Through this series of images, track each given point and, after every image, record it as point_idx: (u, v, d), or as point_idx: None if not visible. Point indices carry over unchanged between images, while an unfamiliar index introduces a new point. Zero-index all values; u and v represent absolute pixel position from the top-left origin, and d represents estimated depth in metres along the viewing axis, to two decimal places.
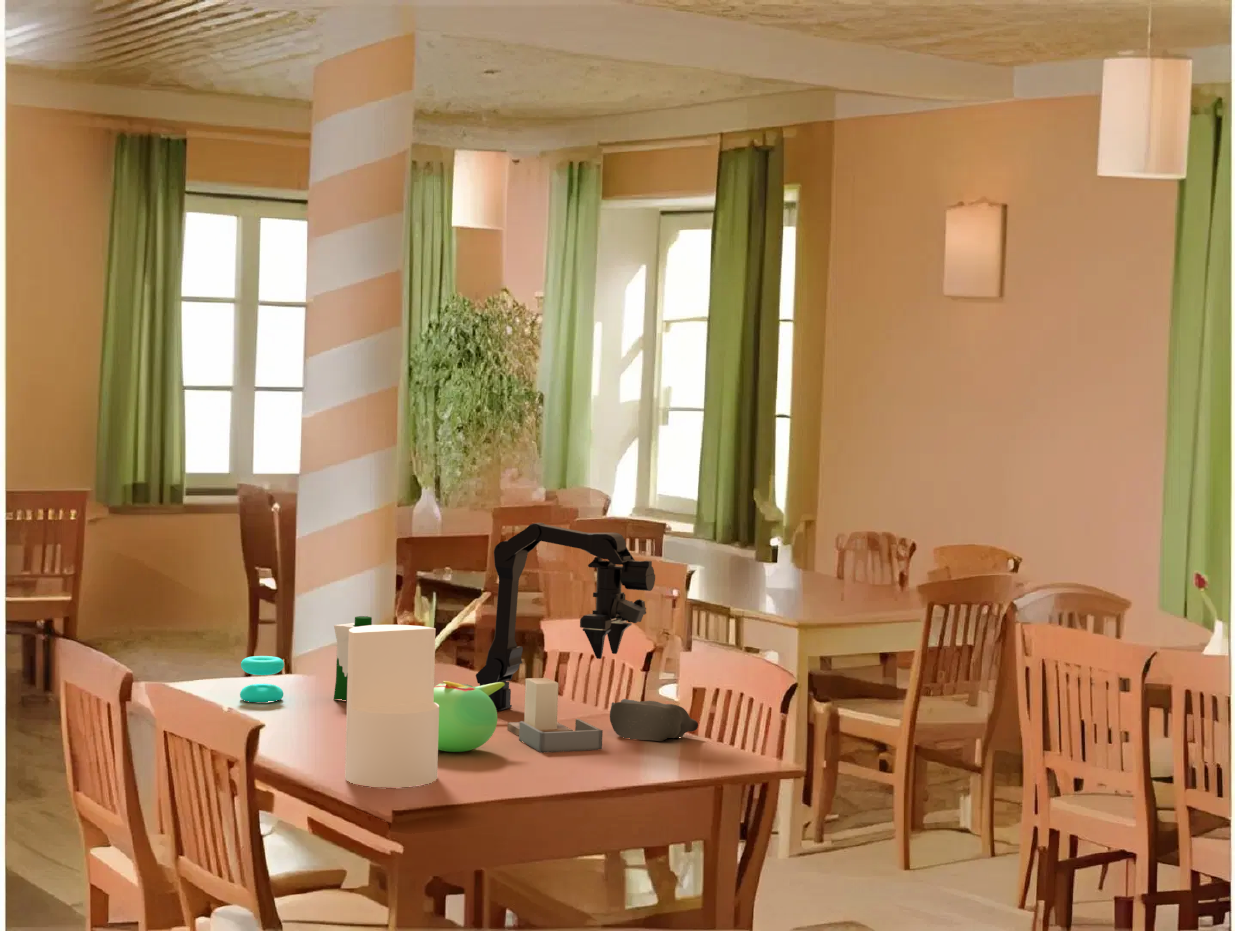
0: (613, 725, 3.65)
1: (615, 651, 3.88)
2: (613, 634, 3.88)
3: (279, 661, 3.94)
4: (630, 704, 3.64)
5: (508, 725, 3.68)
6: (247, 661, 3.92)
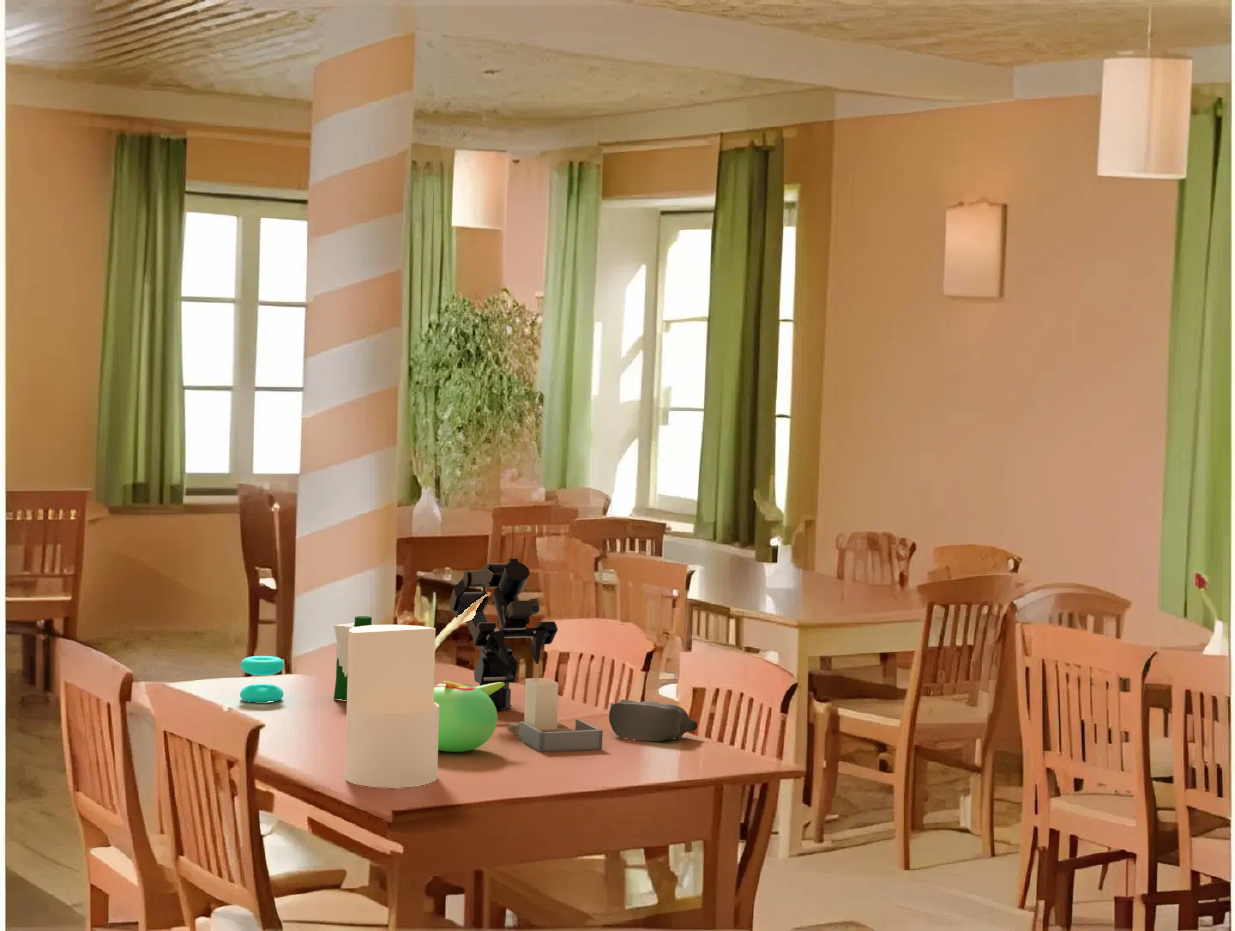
0: (612, 726, 3.65)
1: (536, 660, 3.78)
2: (534, 648, 3.81)
3: (279, 661, 3.94)
4: (629, 704, 3.64)
5: (508, 725, 3.68)
6: (247, 661, 3.92)
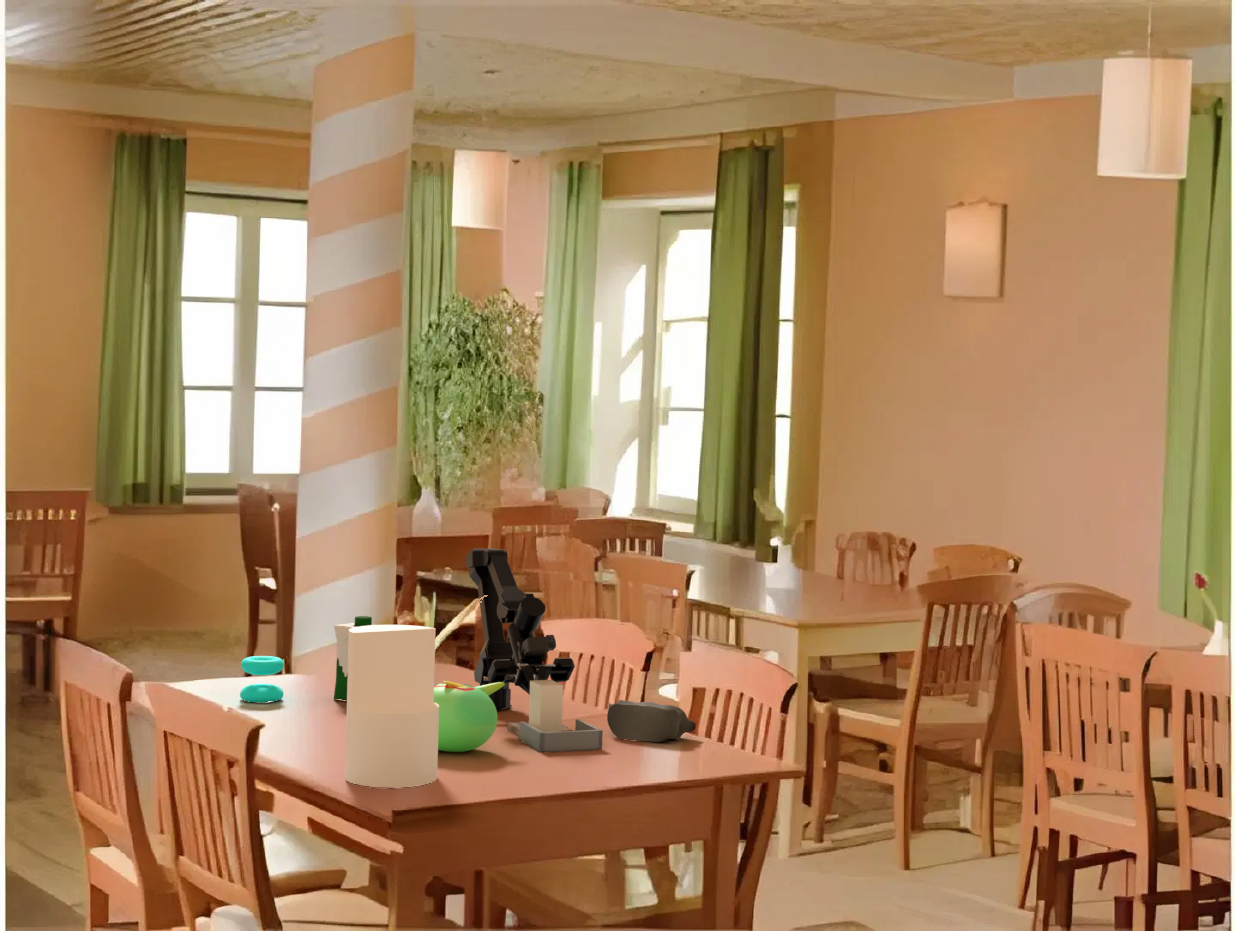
0: (611, 726, 3.64)
1: None
2: None
3: (279, 661, 3.94)
4: (628, 705, 3.63)
5: (508, 725, 3.68)
6: (247, 661, 3.92)
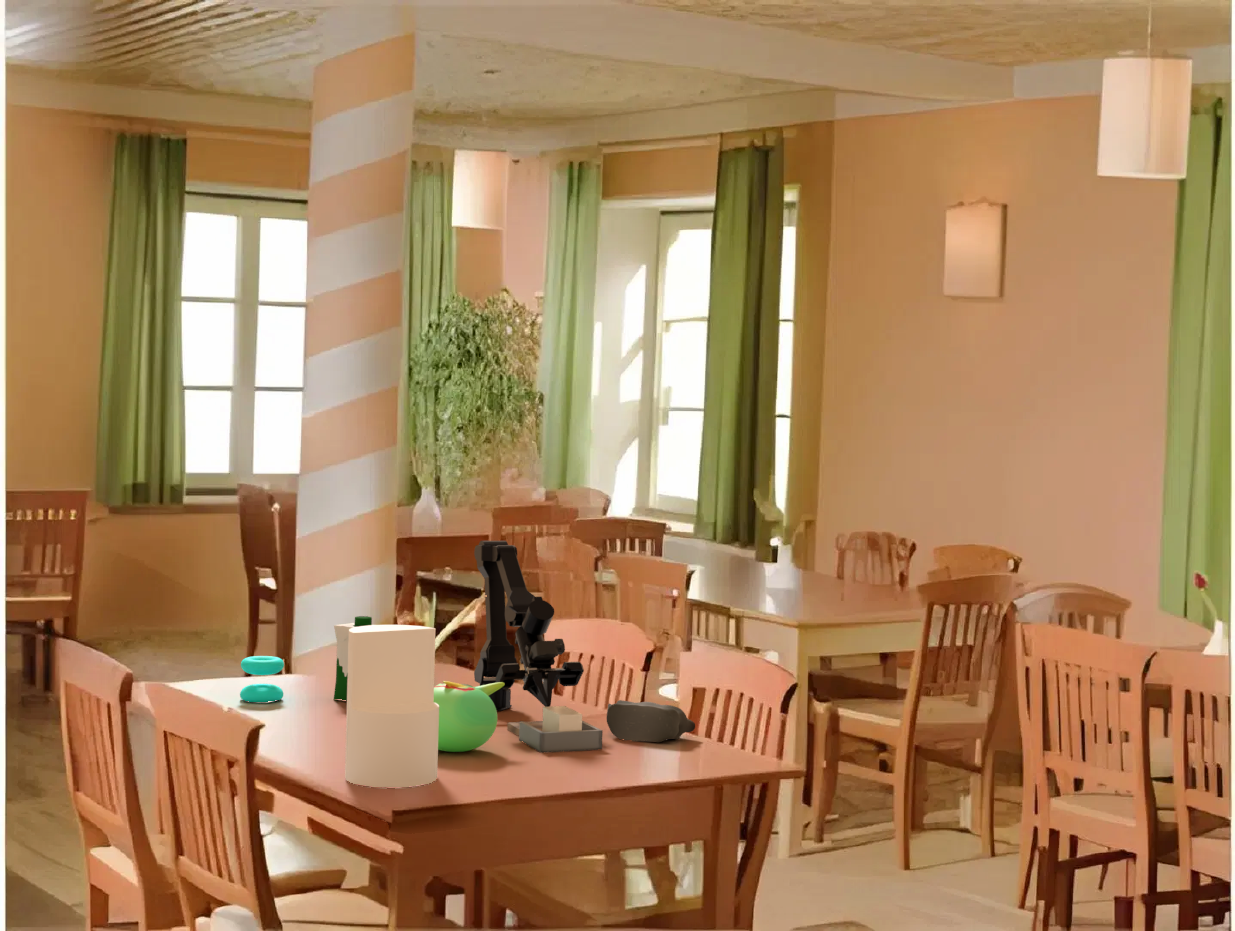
0: (610, 727, 3.63)
1: (548, 703, 3.61)
2: (545, 691, 3.64)
3: (279, 661, 3.94)
4: (627, 705, 3.62)
5: (508, 725, 3.68)
6: (247, 661, 3.92)
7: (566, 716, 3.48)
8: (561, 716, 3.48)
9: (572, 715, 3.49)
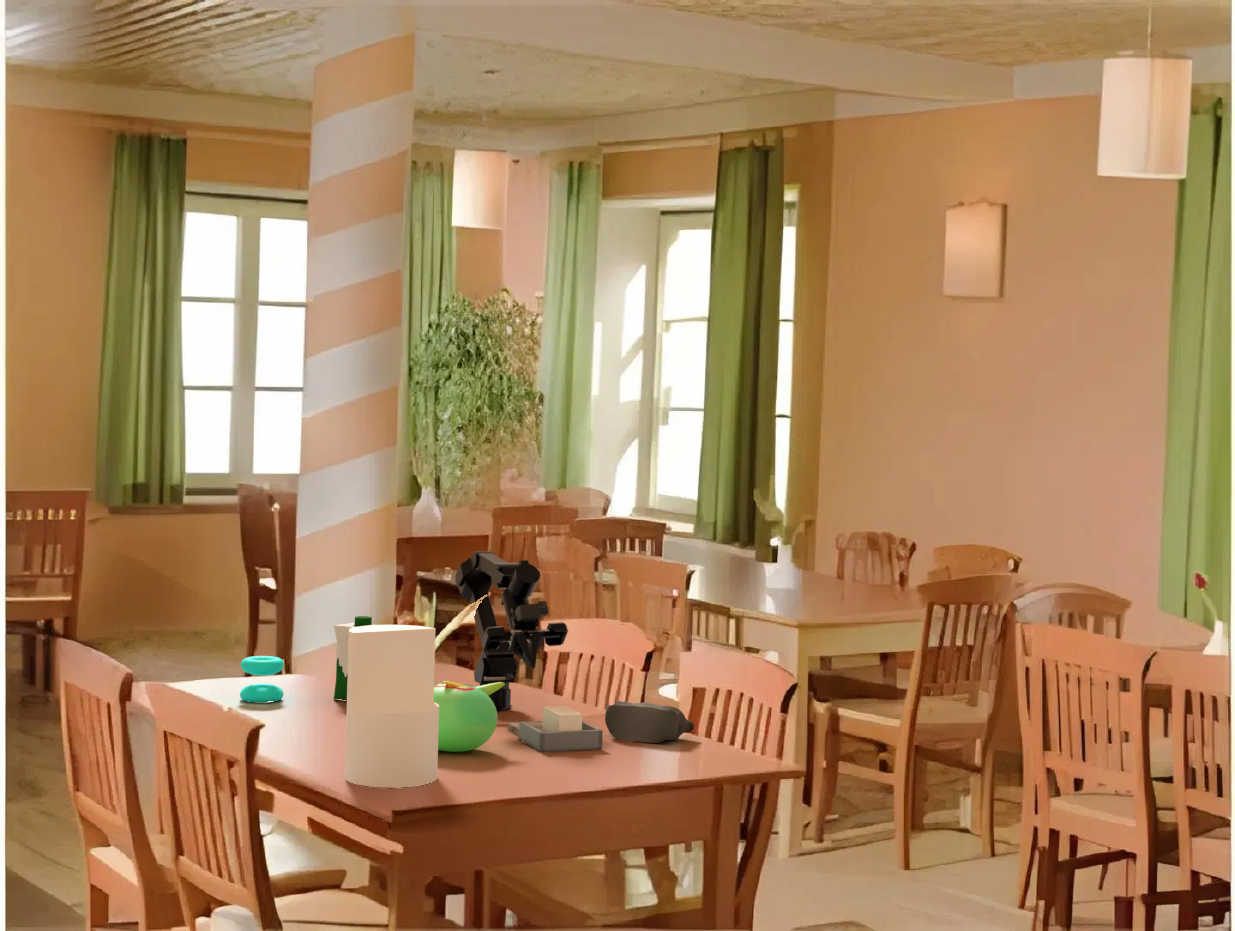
0: (609, 727, 3.62)
1: (532, 664, 3.72)
2: (530, 652, 3.75)
3: (279, 661, 3.94)
4: (626, 706, 3.62)
5: (508, 725, 3.68)
6: (247, 661, 3.92)
7: (566, 716, 3.48)
8: (561, 716, 3.48)
9: (572, 715, 3.49)
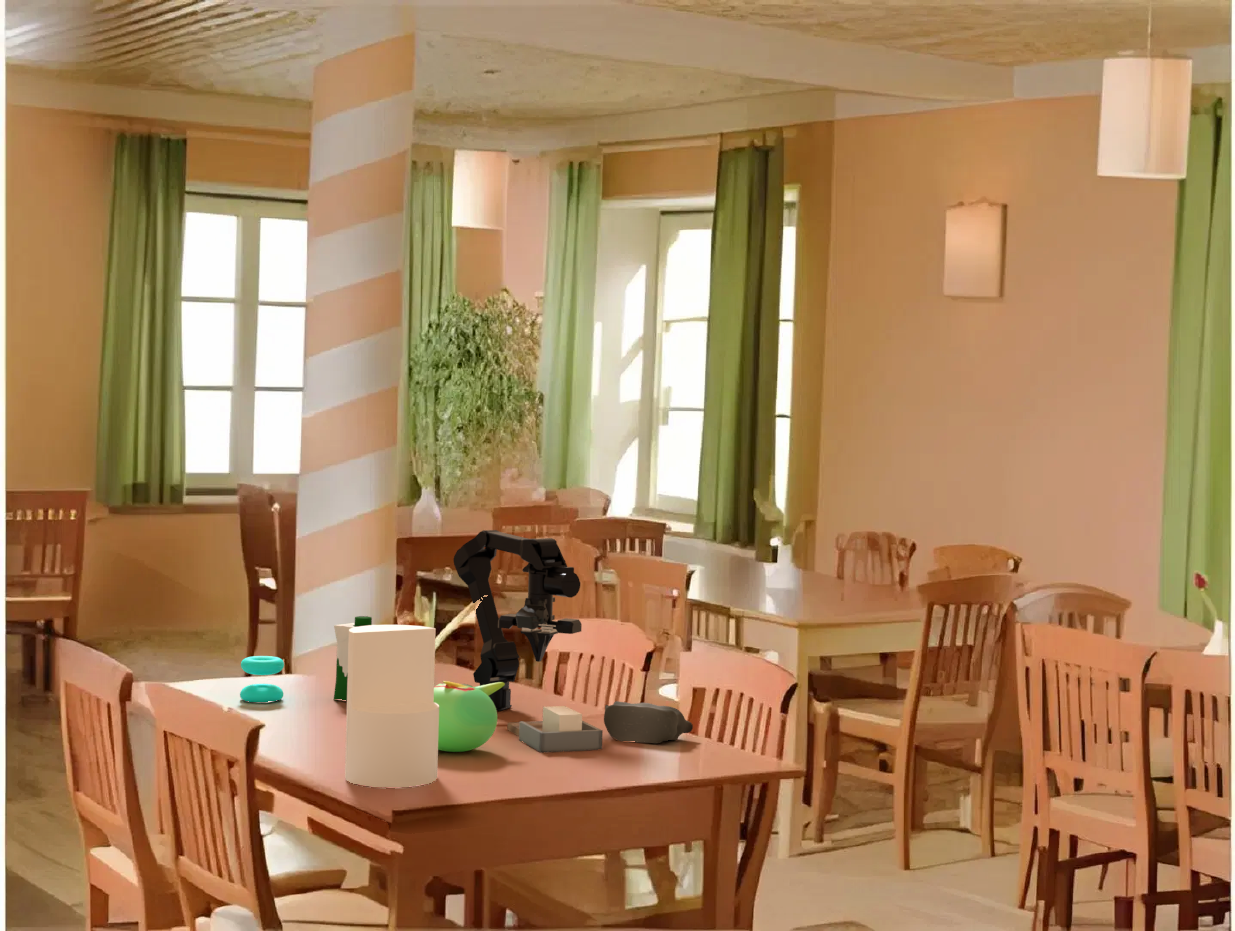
0: (608, 728, 3.62)
1: None
2: None
3: (279, 661, 3.94)
4: (625, 706, 3.61)
5: (508, 725, 3.68)
6: (247, 661, 3.92)
7: (566, 716, 3.48)
8: (561, 716, 3.48)
9: (572, 715, 3.49)
